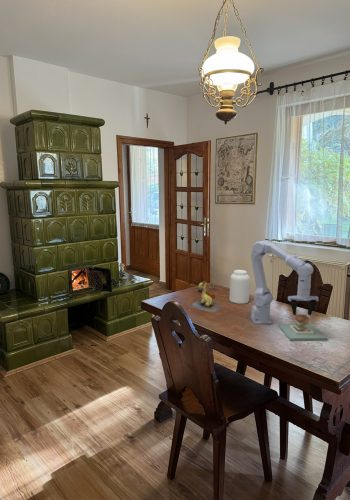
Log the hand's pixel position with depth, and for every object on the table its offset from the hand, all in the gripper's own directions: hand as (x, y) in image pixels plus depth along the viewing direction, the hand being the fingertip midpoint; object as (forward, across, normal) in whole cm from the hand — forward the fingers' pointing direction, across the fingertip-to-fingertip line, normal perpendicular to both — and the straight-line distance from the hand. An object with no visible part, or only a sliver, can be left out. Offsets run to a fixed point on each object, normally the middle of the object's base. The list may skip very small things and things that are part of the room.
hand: (301, 314), depth 171 cm
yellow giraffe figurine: (+10, -43, +40) cm, 60 cm away
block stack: (+8, 0, -1) cm, 8 cm away
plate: (+9, 0, -1) cm, 9 cm away
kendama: (+10, -40, +65) cm, 76 cm away
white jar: (+10, -20, +50) cm, 55 cm away
